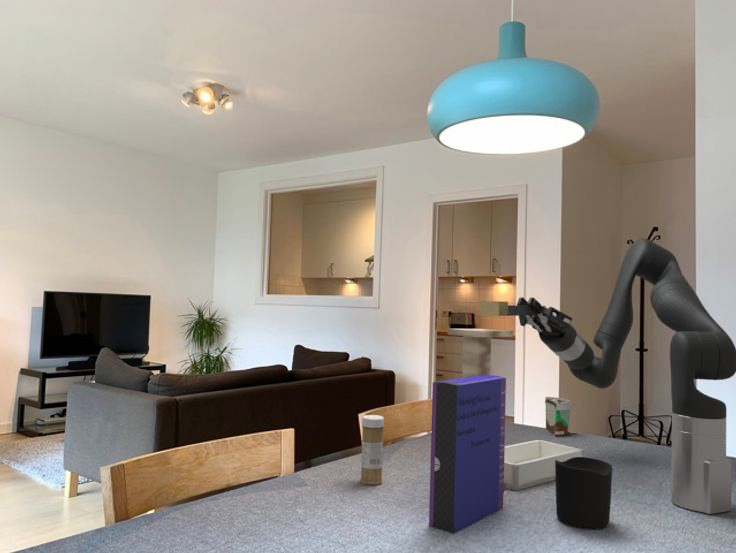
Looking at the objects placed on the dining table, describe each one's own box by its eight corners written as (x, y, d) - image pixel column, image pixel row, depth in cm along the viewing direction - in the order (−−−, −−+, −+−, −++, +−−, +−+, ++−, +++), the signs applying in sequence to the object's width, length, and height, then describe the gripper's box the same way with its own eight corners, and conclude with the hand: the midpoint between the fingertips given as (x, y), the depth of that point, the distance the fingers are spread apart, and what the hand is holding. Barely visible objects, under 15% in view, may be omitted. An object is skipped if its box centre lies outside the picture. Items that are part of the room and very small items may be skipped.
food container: (577, 439, 172) (578, 403, 172) (556, 438, 172) (556, 403, 172) (564, 430, 184) (565, 397, 184) (544, 429, 184) (545, 396, 185)
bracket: (476, 477, 129) (479, 328, 130) (510, 488, 122) (513, 331, 123) (442, 485, 122) (446, 328, 124) (475, 497, 115) (479, 331, 117)
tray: (538, 460, 146) (539, 439, 146) (583, 472, 136) (583, 449, 137) (469, 476, 130) (470, 453, 130) (515, 490, 121) (515, 465, 121)
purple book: (480, 501, 113) (483, 374, 114) (503, 507, 110) (506, 376, 111) (428, 526, 100) (432, 381, 101) (453, 533, 97) (457, 384, 98)
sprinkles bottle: (381, 479, 126) (383, 414, 126) (382, 486, 121) (384, 418, 122) (359, 479, 125) (361, 414, 126) (360, 485, 121) (362, 418, 121)
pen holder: (617, 533, 99) (618, 472, 100) (558, 528, 101) (559, 467, 101) (605, 514, 108) (605, 458, 109) (551, 509, 110) (552, 454, 110)
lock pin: (529, 314, 139) (529, 301, 139) (548, 315, 135) (548, 302, 135) (480, 315, 127) (480, 301, 128) (498, 316, 124) (499, 301, 124)
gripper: (542, 323, 149) (504, 286, 140) (593, 326, 138) (557, 286, 129) (532, 350, 146) (494, 314, 137) (584, 355, 136) (546, 316, 127)
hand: (524, 300), depth 133 cm, fingers closed on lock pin, 2 cm apart
